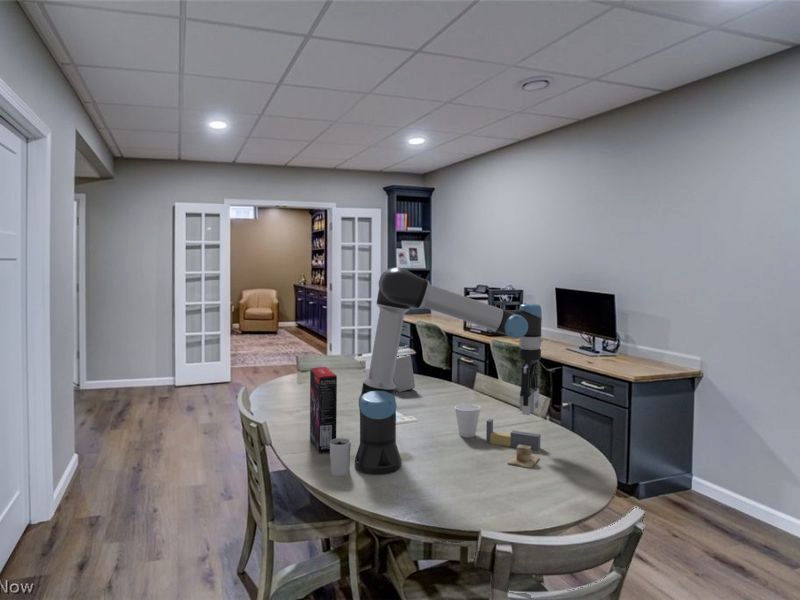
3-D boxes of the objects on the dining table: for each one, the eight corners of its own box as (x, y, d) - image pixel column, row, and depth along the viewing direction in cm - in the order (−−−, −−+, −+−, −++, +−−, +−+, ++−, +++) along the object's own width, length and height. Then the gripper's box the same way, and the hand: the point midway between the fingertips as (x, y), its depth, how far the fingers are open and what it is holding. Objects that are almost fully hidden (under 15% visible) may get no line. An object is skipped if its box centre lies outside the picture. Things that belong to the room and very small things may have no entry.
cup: (459, 440, 206) (460, 411, 205) (450, 432, 215) (450, 404, 214) (484, 438, 208) (485, 409, 207) (474, 430, 218) (474, 403, 217)
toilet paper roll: (325, 472, 175) (325, 441, 174) (342, 466, 180) (341, 436, 179) (338, 478, 170) (338, 446, 170) (355, 472, 175) (355, 441, 174)
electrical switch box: (378, 391, 290) (372, 354, 288) (403, 384, 296) (398, 348, 294) (389, 397, 277) (383, 359, 274) (415, 390, 283) (410, 352, 280)
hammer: (486, 442, 204) (486, 421, 203) (488, 440, 206) (489, 419, 206) (538, 450, 195) (538, 428, 194) (540, 448, 198) (540, 426, 197)
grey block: (519, 410, 195) (519, 391, 194) (524, 405, 202) (525, 386, 201) (533, 412, 193) (534, 392, 192) (538, 407, 199) (539, 388, 199)
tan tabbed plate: (507, 464, 182) (507, 449, 182) (515, 454, 191) (516, 440, 191) (531, 468, 179) (532, 453, 178) (539, 458, 188) (539, 444, 187)
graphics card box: (308, 439, 206) (308, 367, 204) (327, 437, 209) (326, 366, 207) (318, 455, 190) (318, 376, 188) (338, 452, 193) (338, 375, 191)
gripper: (533, 353, 185) (532, 420, 187) (547, 344, 203) (545, 406, 205) (511, 351, 188) (510, 417, 190) (526, 343, 206) (525, 403, 208)
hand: (529, 411), depth 197 cm, fingers closed on grey block, 7 cm apart
